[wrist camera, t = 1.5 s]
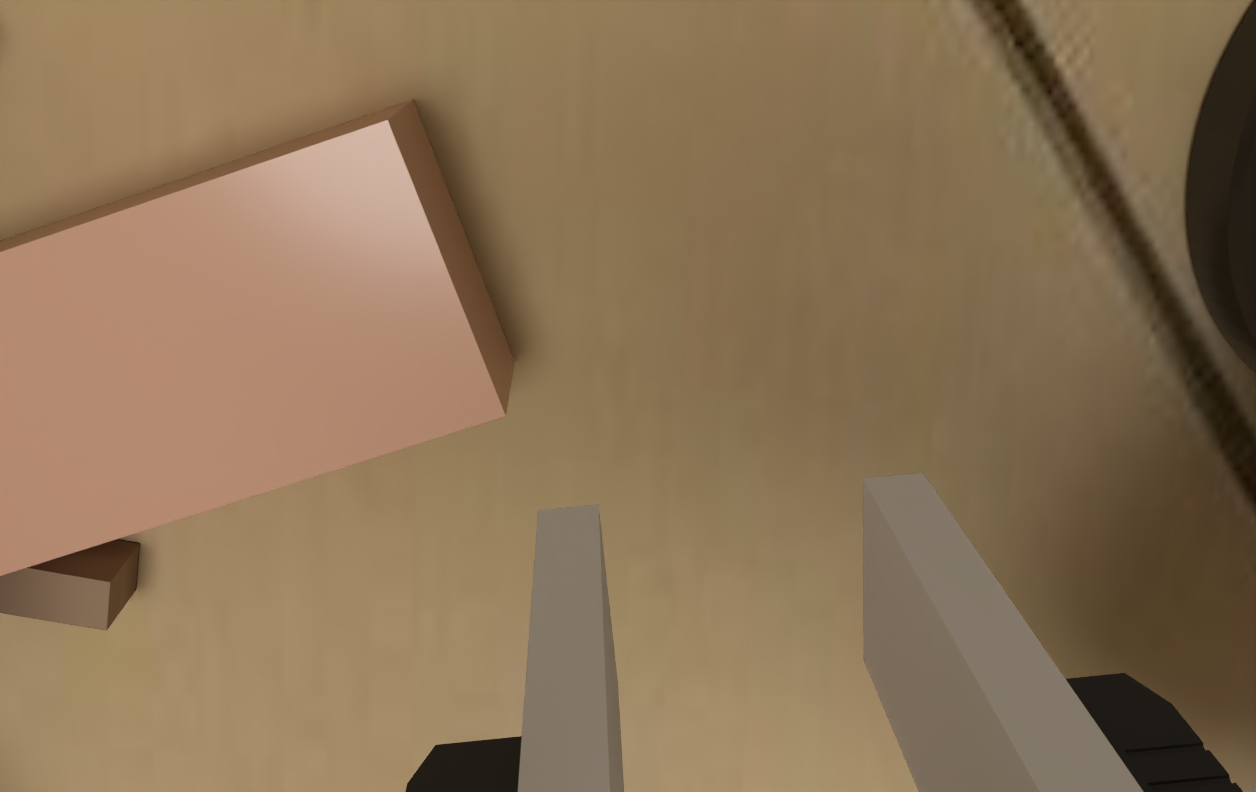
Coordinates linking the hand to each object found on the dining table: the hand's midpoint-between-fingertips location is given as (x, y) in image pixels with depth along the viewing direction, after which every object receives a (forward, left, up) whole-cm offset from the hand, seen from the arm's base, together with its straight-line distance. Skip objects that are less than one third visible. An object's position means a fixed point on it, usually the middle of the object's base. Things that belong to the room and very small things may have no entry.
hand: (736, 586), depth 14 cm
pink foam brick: (+11, 0, -15) cm, 19 cm away
